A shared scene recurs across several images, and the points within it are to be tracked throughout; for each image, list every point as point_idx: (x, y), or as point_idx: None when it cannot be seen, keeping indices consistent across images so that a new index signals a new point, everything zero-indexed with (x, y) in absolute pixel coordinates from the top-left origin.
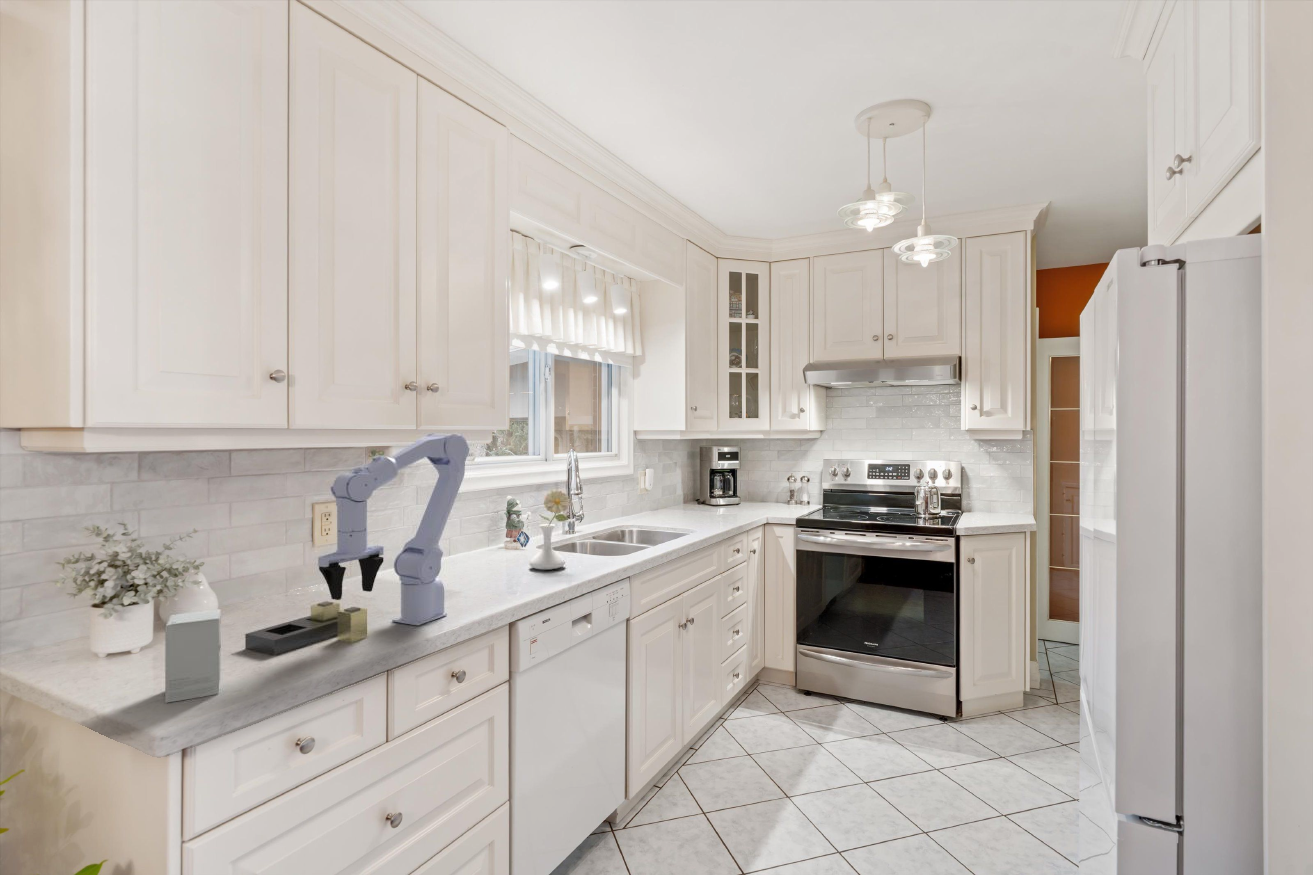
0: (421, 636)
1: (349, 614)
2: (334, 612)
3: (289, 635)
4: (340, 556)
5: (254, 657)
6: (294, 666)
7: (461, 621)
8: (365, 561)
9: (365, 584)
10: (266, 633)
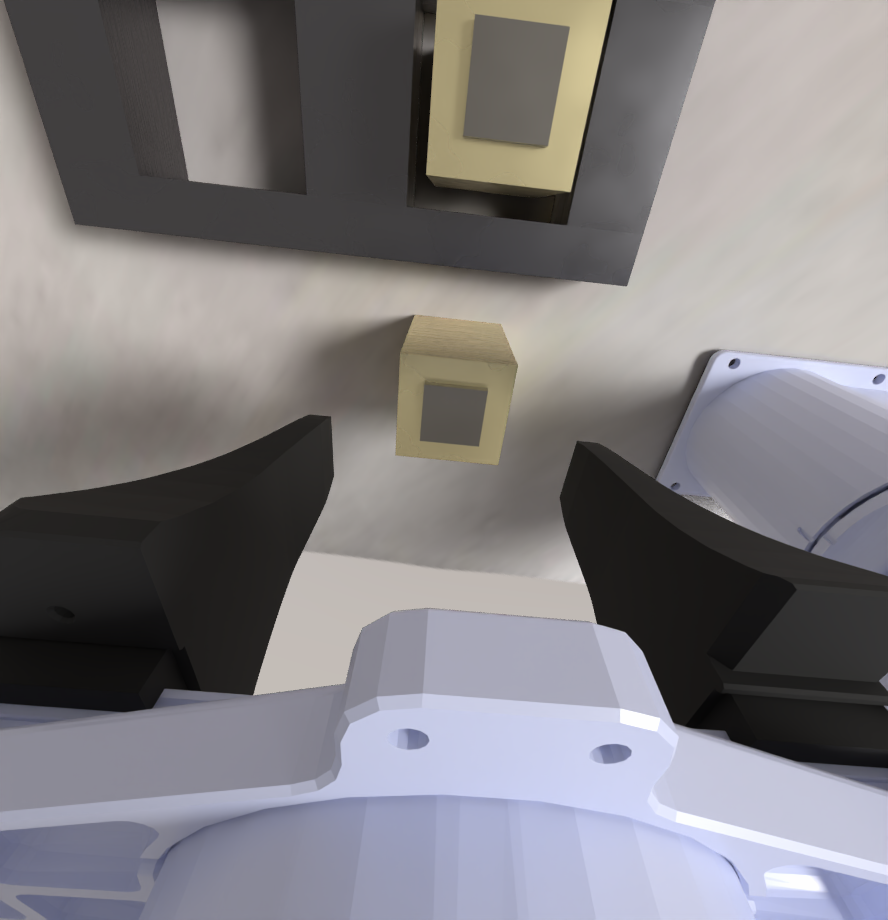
0: (544, 555)
1: (396, 443)
2: (515, 189)
3: (166, 228)
4: (103, 906)
5: None
6: (141, 408)
7: None
8: (679, 661)
9: (583, 492)
10: (77, 14)
